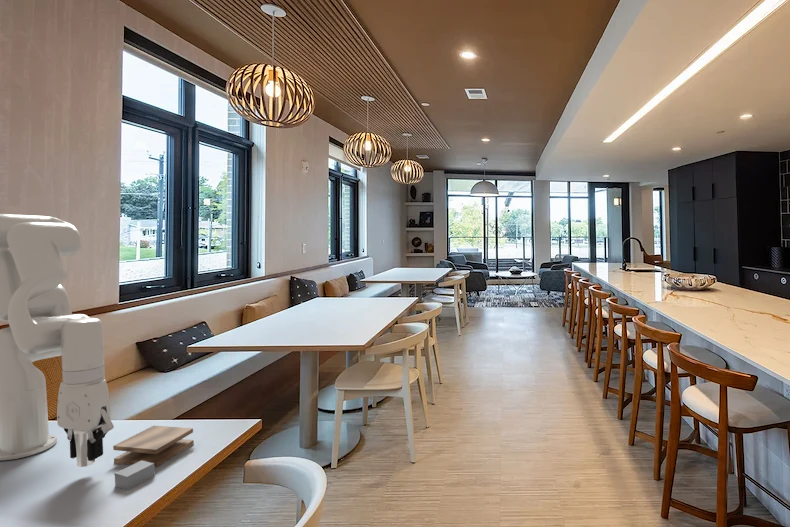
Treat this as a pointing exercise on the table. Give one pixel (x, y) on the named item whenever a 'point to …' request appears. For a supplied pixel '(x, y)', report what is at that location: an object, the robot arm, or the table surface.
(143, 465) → the block
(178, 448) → the stand
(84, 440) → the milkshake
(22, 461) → the table surface
